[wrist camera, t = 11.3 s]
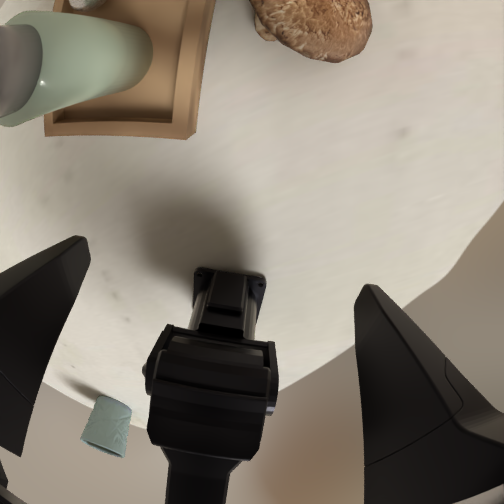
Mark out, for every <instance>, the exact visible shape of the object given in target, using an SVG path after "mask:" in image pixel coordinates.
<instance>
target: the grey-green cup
mask: <svg viewBox="0 0 504 504" xmlns="http://www.w3.org/2000/svg"><path fill="white" fill-rule="evenodd" d="M131 414H132V410H131V409H130V408H129V407H128V406H126V405H125V404H123V403H121V402H119V401H117V400H115V399H112V398H110V397H106V396H99V397H98V398H97V400H96V403H95V405H94V409H93V411H92V412H91V415H90V417H89V419H88V420H89V421H88V423H87V424H86V427H85V429H84V431H83V434H82V436H81V438H80V439H81V441H82V442H84V443H85V444H87V445H89V446H91V447H93V448H95V449H97V450H99V451H102V452H104V453H107V454H110V455H114V456H117V457H121V458H124V457H125V450H126V443H127V436H128V430H129V423H130V420H131Z"/></svg>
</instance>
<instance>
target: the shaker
mask: <svg viewBox="0 0 504 504" xmlns="http://www.w3.org/2000/svg"><path fill="white" fill-rule="evenodd" d="M152 59H153V45H152V41H151V39H150V37H149V35H148V34H147V33H146V32H145V31H144V30H143V29H141V28H139V27H137V26H134V25H130V24H126V23H121V22H117V21H112V20H107V19H102V18H97V17H91V16H85V15H78V14H70V13H60V12H49V11H25V12H22V13H20V14H18V15H16V16H14V17H13V18H12V19H10V20H9V21H8V22H7V23H6V24H5V25H1V26H0V125H2V126H5V127H14V126H17V125H19V124H22V123H24V122H26V121H29V120H31V119H34V118H36V117H39V116H42V115H44V114H47V113H50V112H53V111H55V110H58V109H61V108H64V107H67V106H70V105H74V104H77V103H80V102H84V101H87V100H91V99H94V98H98V97H102V96H106V95H110V94H115V93H119V92H123V91H126V90H129V89H131V88H132V87H134V86H135V85H137V84H138V83H139V82H140V81H141V80H142V79H143V78H144V76H145V75H146V74H147V72H148V70H149V68H150V66H151V63H152Z"/></svg>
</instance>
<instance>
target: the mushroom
mask: <svg viewBox="0 0 504 504" xmlns="http://www.w3.org/2000/svg"><path fill="white" fill-rule="evenodd" d="M249 1H250V3H251V5H252V6H253V8H254V10H255V20H254V22H255V30H256V31H257V33H258V34H259V35H260V36H261V37H262V38H263V39H265V40H266V41H275V40H277V39H278V40H279V41H280V42H281V43H282V44H283V45H285V46H287V47H289V48H291V49H293V50H294V51H296V52H298V53H300V54H302V55H303V56H305V57H308V58H310V59H316V60H321V61H326V62H331V63H339V62H341V61H344V60H346V59H348V58H350V57H353V56H355V55H357V54H360V52H361V51H362V50H363V49H364V48H365V45H366V43H367V41H368V39H369V36H370V34H371V32H372V19H371V13H370V7H369V3H368V1H367V0H249Z"/></svg>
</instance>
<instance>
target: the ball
mask: <svg viewBox="0 0 504 504" xmlns="http://www.w3.org/2000/svg"><path fill="white" fill-rule="evenodd" d="M105 1H106V0H69V3H70V5H71V7H72V8H73V9H74V10H76V11H79V12H88V11H92V10H95V9H97V8H98V7H100V6H101V5H102V4H104V3H105Z"/></svg>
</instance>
